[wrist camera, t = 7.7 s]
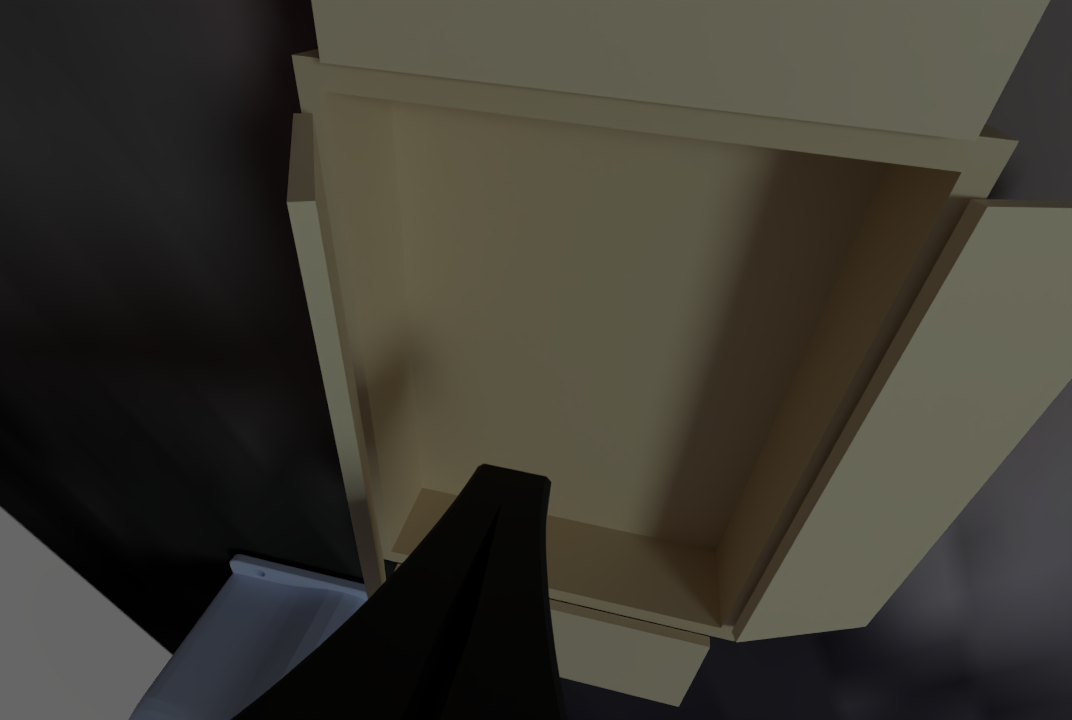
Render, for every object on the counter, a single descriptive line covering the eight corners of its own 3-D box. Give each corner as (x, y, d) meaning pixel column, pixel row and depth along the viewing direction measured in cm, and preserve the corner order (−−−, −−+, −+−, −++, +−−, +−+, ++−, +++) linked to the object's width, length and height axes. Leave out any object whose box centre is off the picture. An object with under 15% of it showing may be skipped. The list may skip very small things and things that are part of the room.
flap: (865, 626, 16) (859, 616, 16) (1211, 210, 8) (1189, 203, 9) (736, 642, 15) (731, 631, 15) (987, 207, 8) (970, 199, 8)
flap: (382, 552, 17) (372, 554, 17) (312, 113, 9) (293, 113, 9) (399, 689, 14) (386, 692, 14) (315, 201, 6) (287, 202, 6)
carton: (419, 552, 22) (384, 632, 19) (346, -245, 9) (208, -333, 6) (697, 616, 21) (699, 712, 18) (1083, -212, 8) (1295, -304, 5)
